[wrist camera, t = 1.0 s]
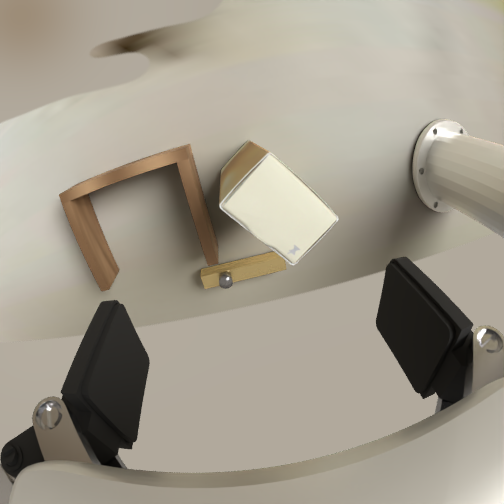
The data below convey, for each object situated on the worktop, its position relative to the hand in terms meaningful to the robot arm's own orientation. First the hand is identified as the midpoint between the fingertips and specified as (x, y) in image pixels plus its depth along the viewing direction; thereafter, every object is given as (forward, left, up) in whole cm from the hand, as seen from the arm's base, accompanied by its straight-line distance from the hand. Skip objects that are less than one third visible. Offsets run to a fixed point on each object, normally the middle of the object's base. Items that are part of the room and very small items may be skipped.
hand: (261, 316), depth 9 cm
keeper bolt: (+1, +9, -19) cm, 21 cm away
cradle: (+9, +1, -20) cm, 22 cm away
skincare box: (-3, 0, -20) cm, 20 cm away
